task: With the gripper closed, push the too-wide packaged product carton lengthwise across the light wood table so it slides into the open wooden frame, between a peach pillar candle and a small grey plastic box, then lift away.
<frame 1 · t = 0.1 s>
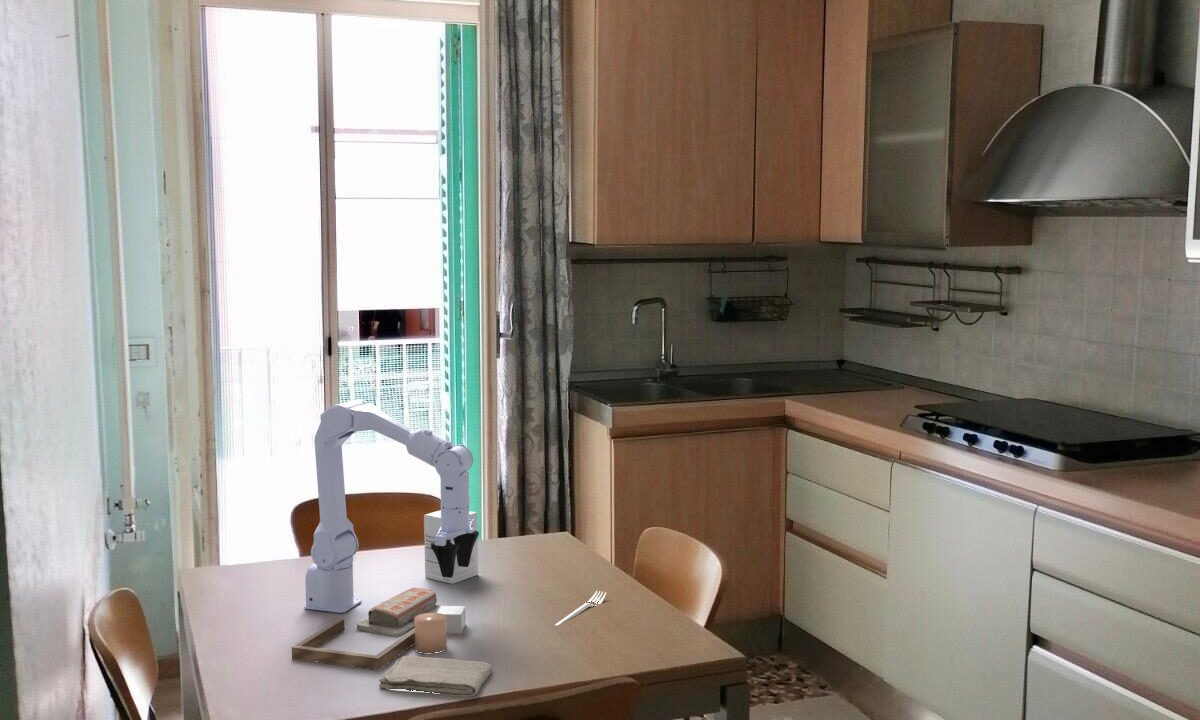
hand: (455, 571, 229), 10 cm above the table, tool pointing down, fingers open, 7 cm apart
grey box: (451, 629, 225), on the table
peach pillar candle: (430, 648, 214), on the table
washcloth: (436, 684, 198), on the table
packaged product: (401, 622, 230), on the table
fork: (579, 614, 235), on the table
supplement box: (451, 577, 260), on the table
open wooden frame: (359, 647, 214), on the table
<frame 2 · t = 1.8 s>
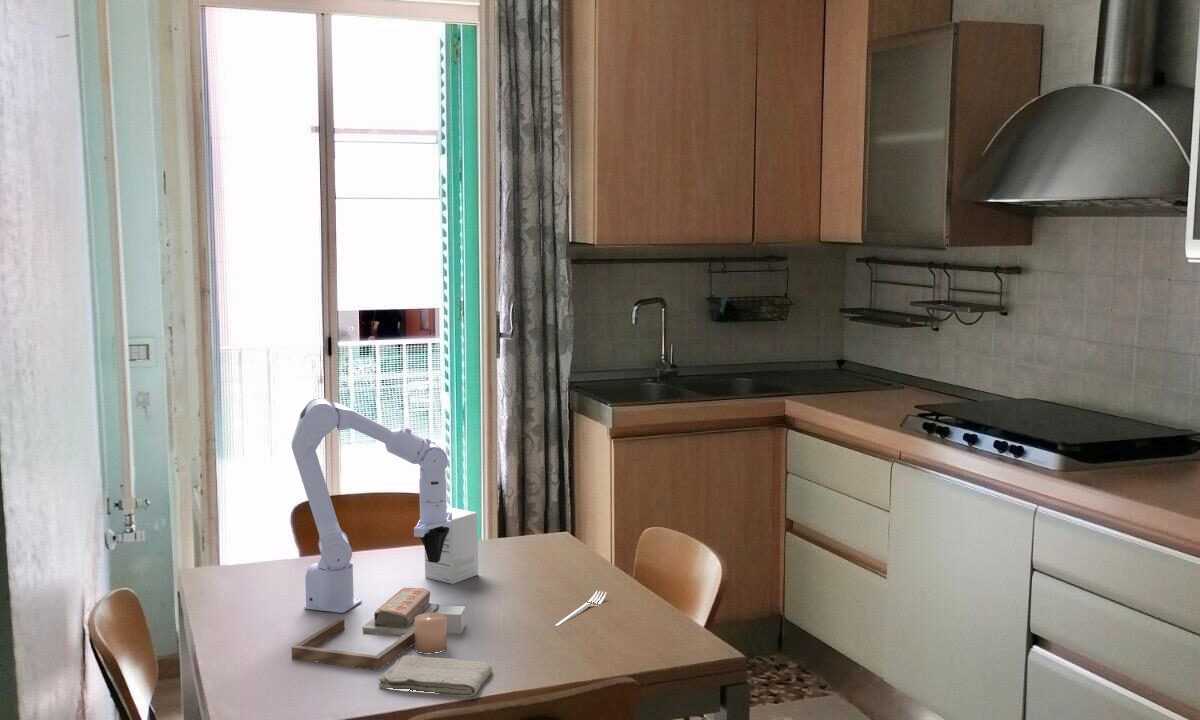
hand: (434, 561, 244), 8 cm above the table, tool pointing down, fingers closed
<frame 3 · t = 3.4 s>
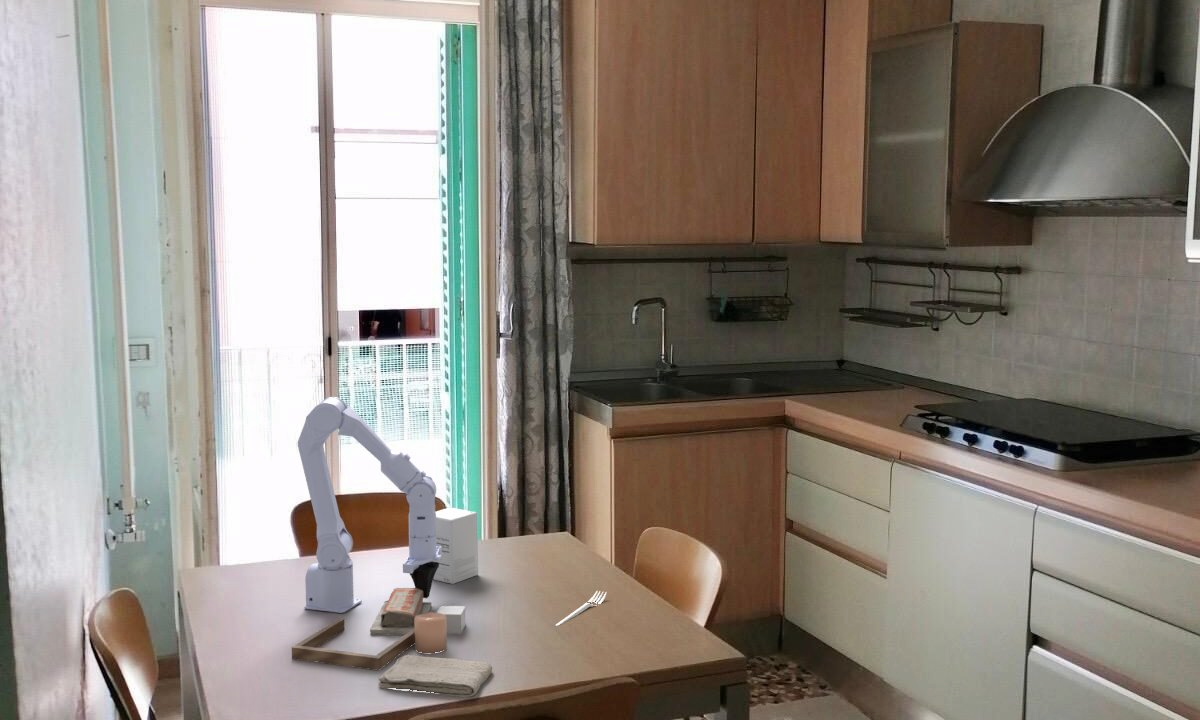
hand: (423, 597, 239), 2 cm above the table, tool pointing down, fingers closed
packaged product: (401, 622, 230), on the table, touching gripper
everything else where it was.
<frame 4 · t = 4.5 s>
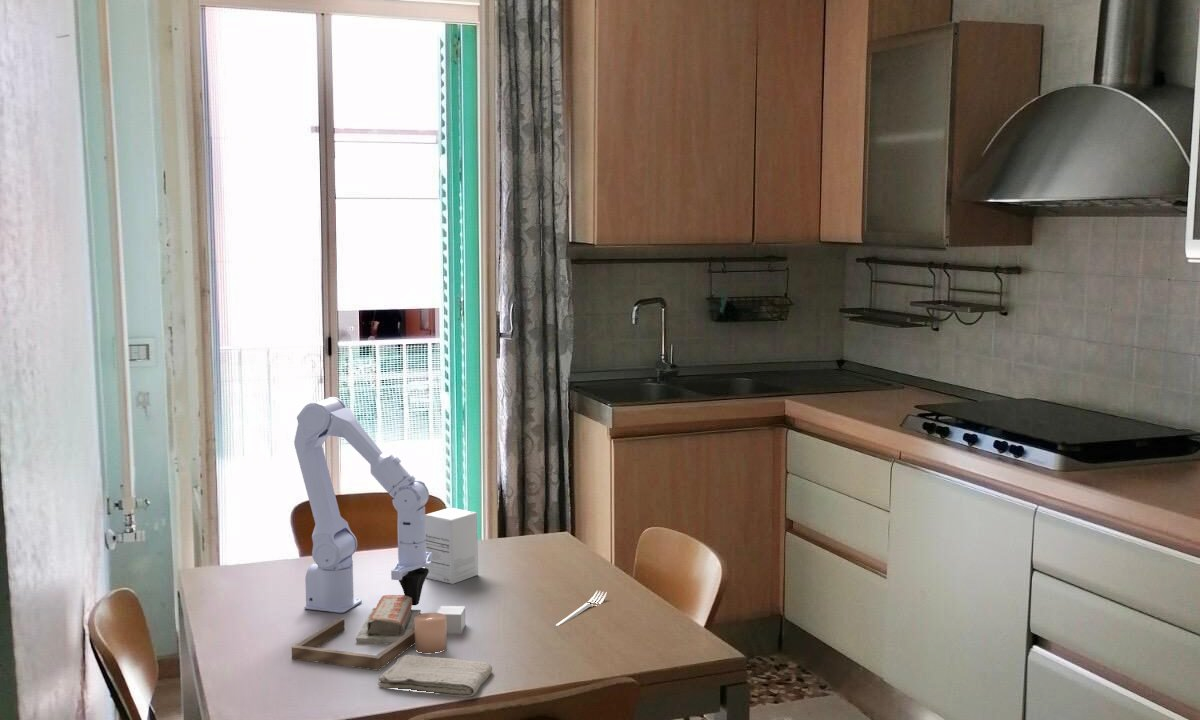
hand: (412, 604, 235), 2 cm above the table, tool pointing down, fingers closed
packaged product: (389, 631, 225), on the table
everything else where it was.
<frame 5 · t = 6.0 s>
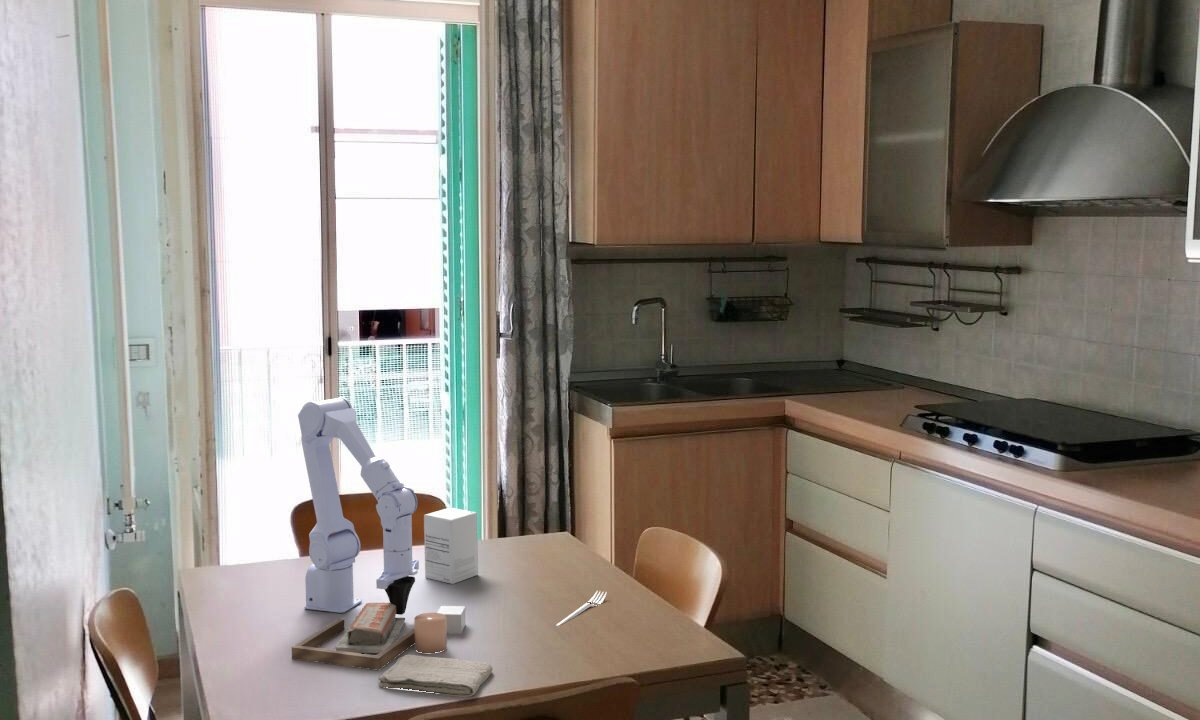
hand: (398, 613, 229), 2 cm above the table, tool pointing down, fingers closed
packaged product: (371, 639, 220), on the table, touching gripper
everything else where it was.
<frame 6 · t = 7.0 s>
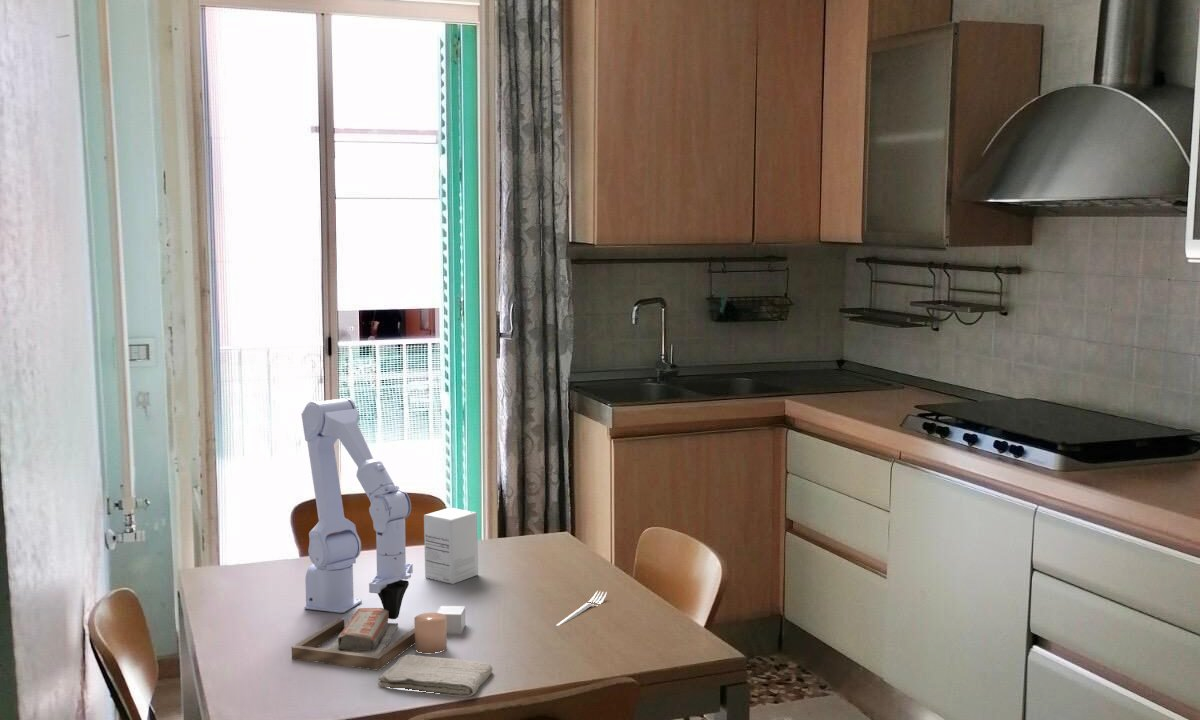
hand: (392, 617, 226), 2 cm above the table, tool pointing down, fingers closed
packaged product: (363, 645, 217), on the table
everything else where it was.
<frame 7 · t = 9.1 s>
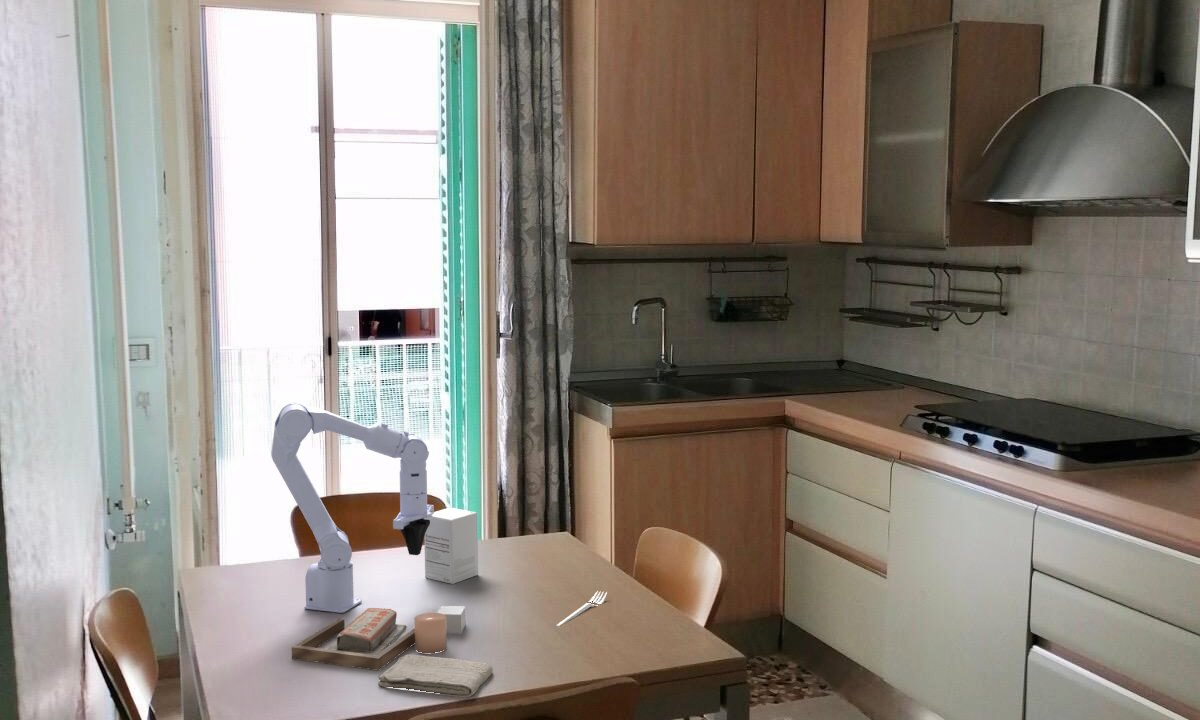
hand: (414, 554, 242), 10 cm above the table, tool pointing down, fingers closed
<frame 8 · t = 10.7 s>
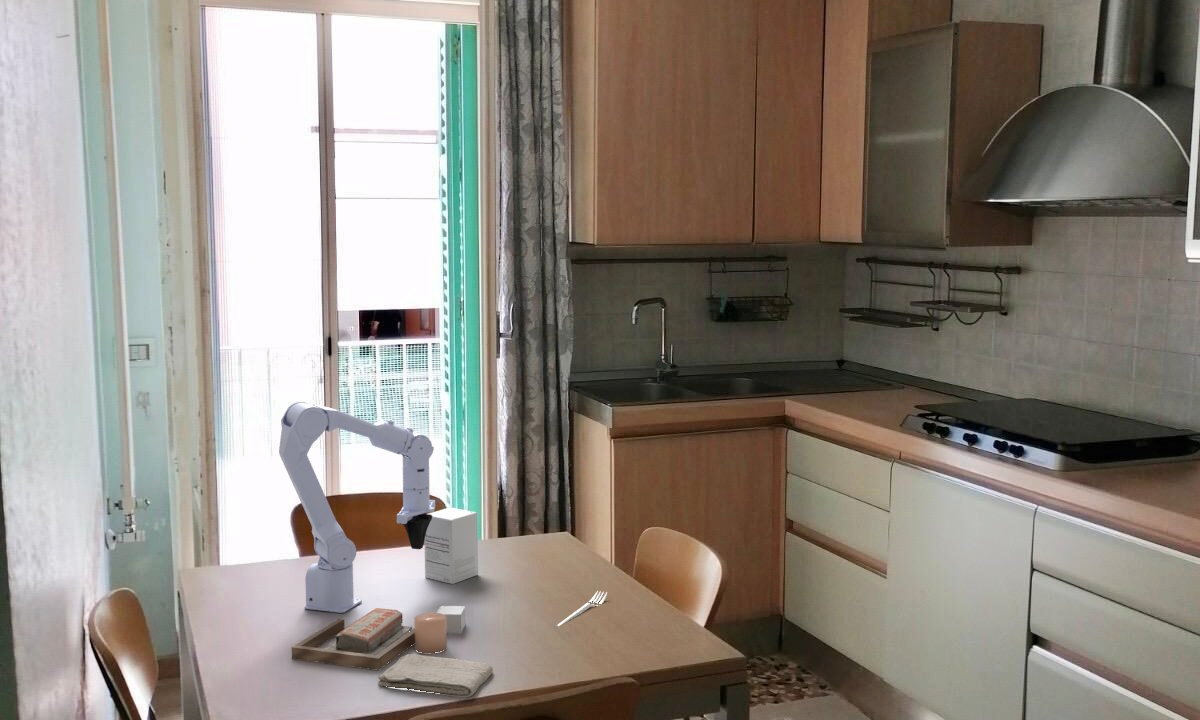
hand: (417, 548, 247), 10 cm above the table, tool pointing down, fingers closed
at the end: packaged product inside the target area (0.5 cm from its centre), on the table; packaged product moved 14.2 cm from its start; packaged product touching table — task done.
